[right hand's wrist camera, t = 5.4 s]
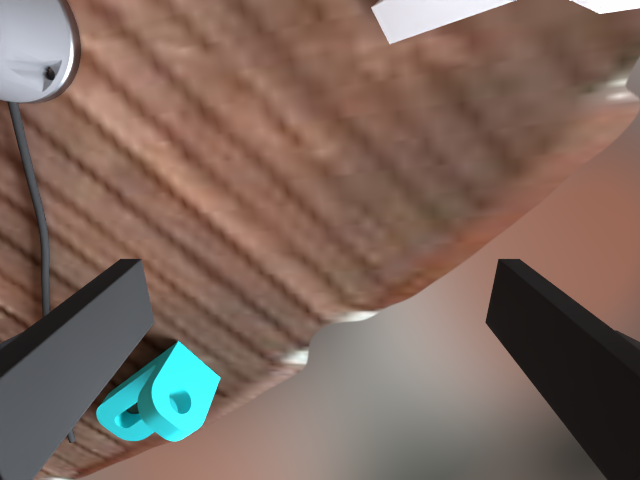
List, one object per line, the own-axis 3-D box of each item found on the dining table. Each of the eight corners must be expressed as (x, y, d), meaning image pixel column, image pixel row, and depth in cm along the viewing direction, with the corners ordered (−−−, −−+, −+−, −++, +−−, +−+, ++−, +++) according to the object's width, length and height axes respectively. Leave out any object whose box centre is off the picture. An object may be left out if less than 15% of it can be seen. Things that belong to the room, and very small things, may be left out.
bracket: (178, 341, 54) (142, 400, 43) (220, 377, 57) (196, 442, 46) (97, 400, 58) (46, 468, 47) (140, 432, 61) (100, 503, 50)
